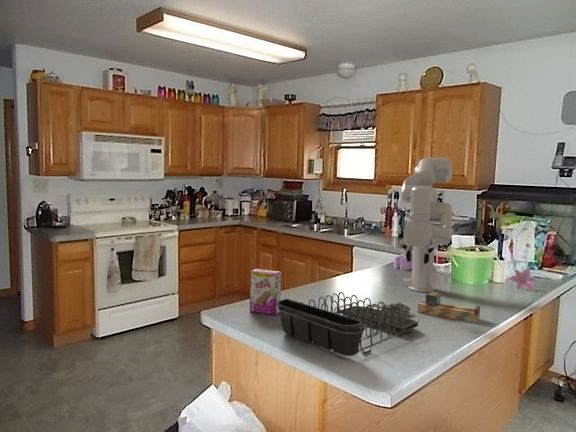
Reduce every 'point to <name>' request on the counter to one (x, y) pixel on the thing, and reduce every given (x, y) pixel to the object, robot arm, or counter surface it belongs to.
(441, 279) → the counter surface
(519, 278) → the lily
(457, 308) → the rail
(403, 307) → the egg carton
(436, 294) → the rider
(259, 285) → the candy bar box
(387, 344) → the counter surface
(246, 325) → the counter surface
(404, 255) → the clip
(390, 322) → the dish rack
